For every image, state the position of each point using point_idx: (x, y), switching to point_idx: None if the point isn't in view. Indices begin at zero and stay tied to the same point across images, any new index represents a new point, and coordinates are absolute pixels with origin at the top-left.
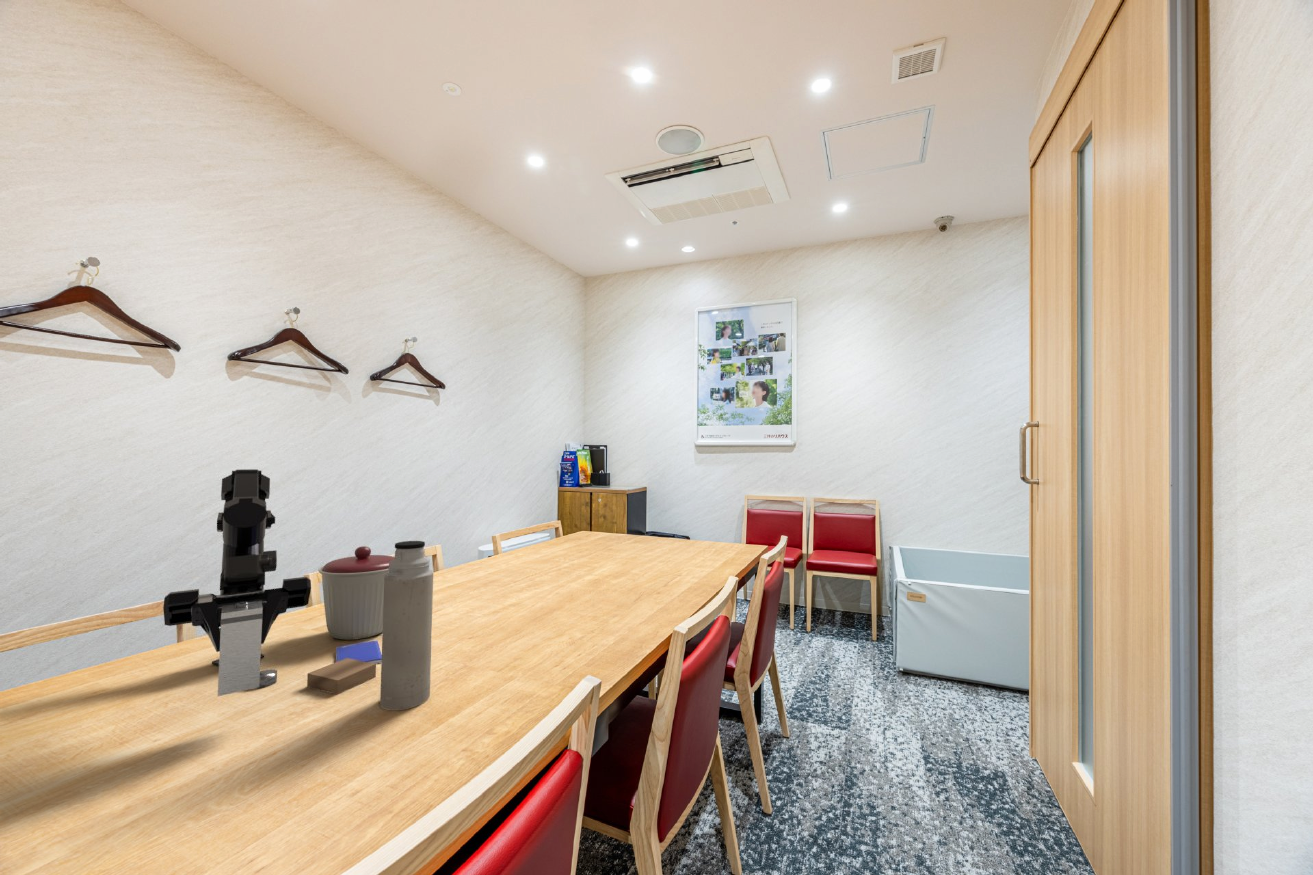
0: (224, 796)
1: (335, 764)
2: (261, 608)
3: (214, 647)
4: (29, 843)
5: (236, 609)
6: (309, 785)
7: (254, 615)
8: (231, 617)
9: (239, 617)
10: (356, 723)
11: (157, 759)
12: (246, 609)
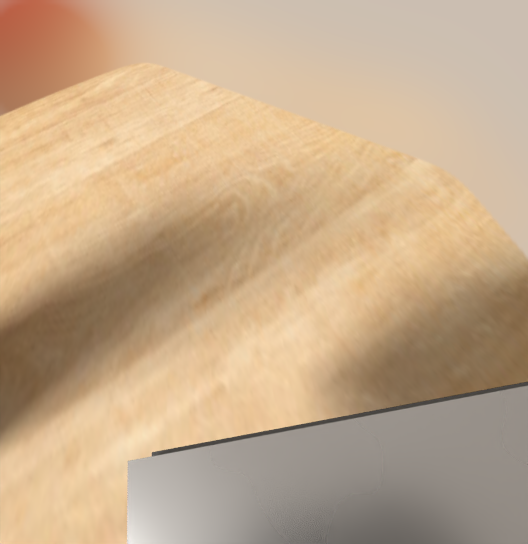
0: (261, 203)
1: (118, 215)
2: (145, 461)
3: None
4: (465, 204)
5: (489, 537)
6: (157, 180)
7: (236, 440)
8: (450, 397)
9: (373, 411)
10: (52, 352)
11: (417, 385)
12: (331, 453)
